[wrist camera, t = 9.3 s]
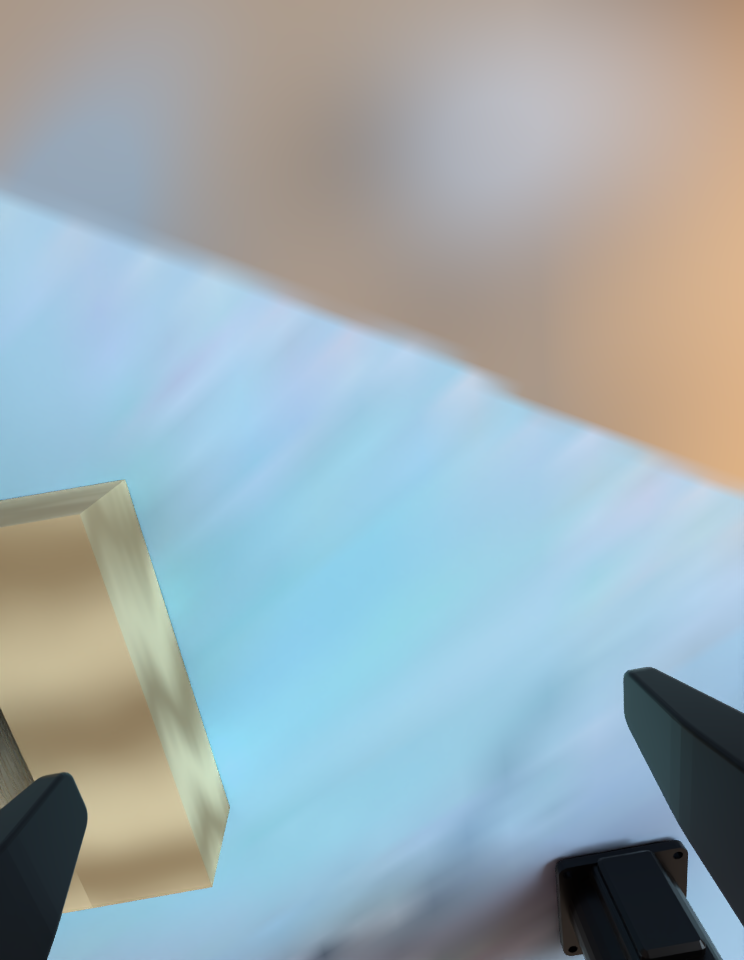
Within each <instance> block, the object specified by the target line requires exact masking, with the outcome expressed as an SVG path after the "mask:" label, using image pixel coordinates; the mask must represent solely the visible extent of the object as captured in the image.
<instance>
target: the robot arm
mask: <svg viewBox="0 0 744 960" xmlns="http://www.w3.org/2000/svg"><path fill="white" fill-rule="evenodd" d="M623 685H624V714H625V719H626V722H627V725H628V727H629V729H630V731H631V733H632V735H633V737H634V739H635V741H636V743H637V745H638V747H639V749H640V751H641V753H642V755H643V757H644V759H645V760H646V762H647V764H648V766H649V768H650V770H651V772H652V774H653V776H654V778H655V780H656V782H657V784H658V786H659V788H660V790H661V792H662V794H663V796H664V797H665V799H666V801H667V803H668V805H669V807H670V809H671V811H672V813H673V815H674V816H675V818H676V820H677V822H678V824H679V826H680V827H681V829H682V831H683V832H684V834H685V835H686V837H687V839H688V840H689V842H690V844H691V845H692V847H693V848H694V850H695V851H696V853H697V855H698V856H699V858H700V859H701V861H702V862H703V864H704V865H705V867H706V869H707V870H708V872H709V873H710V875H711V876H712V878H713V880H714V881H715V883H716V884H717V886H718V887H719V889H720V891H721V892H722V894H723V895H724V897H725V898H726V900H727V902H728V903H729V905H730V906H731V908H732V909H733V911H734V912H735V914H736V916H737V917H738V919H739V920H740V922H741V923H742V925H743V927H744V713H742V712H740V711H738V710H736V709H734V708H732V707H730V706H728V705H726V704H724V703H722V702H720V701H718V700H716V699H714V698H712V697H710V696H708V695H706V694H704V693H702V692H700V691H698V690H696V689H695V688H693V687H691V686H689V685H687V684H685V683H683V682H681V681H679V680H677V679H675V678H673V677H671V676H669V675H667V674H665V673H663V672H661V671H659V670H657V669H655V668H652V667H644V668H638V669H633V670H628V671H627V672H626V673H625V674H624V679H623ZM87 821H88V813H87V808H86V805H85V803H84V801H83V799H82V796H81V794H80V792H79V790H78V787H77V785H76V783H75V780H74V778H73V777H72V775H71V774H69V773H68V772H60V773H55V774H49V775H45V776H42V777H40V778H38V779H37V780H35V781H34V782H33V783H32V784H30V785H29V786H28V787H27V788H26V789H24V790H23V791H22V792H21V793H20V794H18V795H17V796H16V797H15V798H14V799H12V800H11V801H10V802H9V803H8V804H6V805H5V806H4V807H3V808H1V809H0V960H47V958H48V955H49V952H50V949H51V946H52V944H53V941H54V938H55V935H56V932H57V928H58V925H59V922H60V919H61V915H62V912H63V908H64V905H65V901H66V898H67V894H68V891H69V887H70V884H71V880H72V877H73V873H74V870H75V866H76V862H77V859H78V855H79V852H80V848H81V845H82V841H83V838H84V834H85V831H86V827H87ZM687 867H688V852H687V850H686V848H685V847H684V845H683V844H682V842H680V841H678V840H672V841H667V842H661V843H656V844H650V845H644V846H639V847H633V848H627V849H622V850H616V851H610V852H605V853H599V854H594V855H588V856H582V857H577V858H571V859H565V860H562V861H560V862H559V863H558V864H557V865H556V868H555V869H556V883H557V898H558V912H559V927H560V941H561V945H562V948H563V951H564V953H565V954H566V955H569V956H574V955H580V954H583V955H584V957H585V960H723V959H722V958H721V956H720V954H719V953H718V951H717V949H716V947H715V946H714V944H713V942H712V941H711V939H710V937H709V936H708V934H707V932H706V931H705V929H704V927H703V926H702V924H701V922H700V921H699V919H698V917H697V916H696V914H695V912H694V911H693V909H692V907H691V906H690V904H689V902H688V901H687V899H686V893H687Z"/></svg>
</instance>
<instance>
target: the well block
mask: <svg viewBox="0 0 744 960" xmlns="http://www.w3.org/2000/svg"><path fill="white" fill-rule="evenodd" d="M0 708H1V710H2V712H3V715H4V717H5V719H6V721H7V723H8V725H9V727H10V730H11V732H12V734H13V736H14V738H15V740H16V743H17V745H18V747H19V749H20V751H21V753H22V756H23V758H24V760H25V762H26V764H27V766H28V769H29V771H30V773H31V775H32V777H33V779H34V781H35V780H37V779H38V778H40V777H42V776H45V775H49V774H55V773H60V772H68V773H69V774H71V775H72V777H73V778H74V780H75V783H76V785H77V787H78V790H79V792H80V794H81V796H82V799H83V801H84V803H85V805H86V808H87V813H88V821H87V827H86V831H85V834H84V838H83V841H82V845H81V848H80V852H79V855H78V859H77V862H76V866H75V870H74V873H73V877H72V880H71V884H70V887H69V891H68V894H67V898H66V901H65V905H64V908H63V912H62V913H68V912H73V911H79V910H84V909H90V908H96V907H101V906H107V905H113V904H118V903H124V902H130V901H135V900H141V899H147V898H152V897H158V896H164V895H169V894H175V893H181V892H186V891H192V890H198V889H203V888H209V887H212V886H213V881H214V877H215V872H216V868H217V863H218V859H219V854H220V850H221V845H222V841H223V836H224V831H225V827H226V822H227V818H228V813H229V809H230V806H229V803H228V800H227V797H226V794H225V791H224V788H223V785H222V781H221V778H220V775H219V772H218V769H217V766H216V763H215V760H214V756H213V753H212V750H211V747H210V744H209V741H208V738H207V734H206V731H205V728H204V725H203V722H202V719H201V716H200V713H199V709H198V706H197V703H196V700H195V697H194V694H193V691H192V688H191V684H190V681H189V678H188V675H187V672H186V669H185V666H184V662H183V659H182V656H181V653H180V650H179V647H178V644H177V641H176V637H175V634H174V631H173V628H172V625H171V622H170V619H169V616H168V612H167V609H166V606H165V603H164V600H163V597H162V594H161V590H160V587H159V584H158V581H157V578H156V575H155V572H154V569H153V565H152V562H151V559H150V556H149V553H148V550H147V547H146V544H145V540H144V537H143V534H142V531H141V528H140V525H139V522H138V519H137V515H136V512H135V509H134V506H133V503H132V500H131V497H130V493H129V490H128V487H127V484H126V481H125V480H119V481H113V482H107V483H101V484H95V485H89V486H84V487H78V488H72V489H66V490H60V491H54V492H48V493H42V494H36V495H30V496H24V497H18V498H12V499H7V500H1V501H0Z"/></svg>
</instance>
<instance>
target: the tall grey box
mask: <svg viewBox="0 0 744 960" xmlns="http://www.w3.org/2000/svg"><path fill="white" fill-rule="evenodd" d="M33 782H34V779H33V777H32V775H31V773H30V771H29V769H28V766H27V764H26V762H25V760H24V758H23V756H22V753H21V751H20V749H19V747H18V745H17V743H16V740H15V738H14V736H13V734H12V732H11V730H10V727H9V725H8V723H7V721H6V719H5V717H4V715H3V712H2V710H1V708H0V809H1V808H3V807H4V806H5V805H6V804H8V803H9V802H10V801H11V800H12V799H14V798H15V797H16V796H17V795H18V794H20V793H21V792H22V791H23V790H24V789H26V788H27V787H28V786H29V785H30V784H32V783H33Z"/></svg>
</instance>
